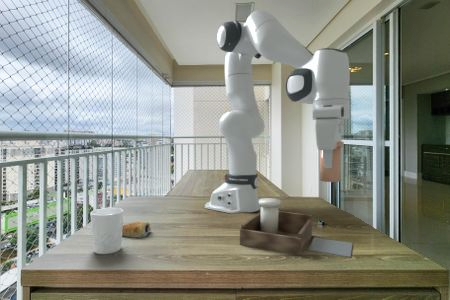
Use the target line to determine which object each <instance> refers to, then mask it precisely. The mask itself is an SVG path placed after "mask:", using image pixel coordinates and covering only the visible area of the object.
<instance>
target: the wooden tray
mask: <svg viewBox="0 0 450 300" xmlns="http://www.w3.org/2000/svg"><path fill="white" fill-rule="evenodd" d="M260 221H261V208H260V209H259V210H258V213H256V214H255V215H253V216H252V217H251V218H249V219H248V220H246V221H245V222H243V223H242V224H240V229H239V245H241V246H247V247H250V248H251V247H252V248H258V249H263V250H267V251H268V250H269V251H273V252H280V253H286V254H291V255H297V256H301V255H302V254H303V252H304V250H305V248H306V247H307V245H308V243H309V241H310V239H311V238H312V236H313V214H308V213H305V214H304V213H299V212H291V211H290V212H289V211H281V210H279V211H278V234H272V233H265V232H260Z"/></svg>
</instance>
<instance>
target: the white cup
mask: <svg viewBox="0 0 450 300" xmlns="http://www.w3.org/2000/svg"><path fill="white" fill-rule="evenodd" d="M123 225H124V209H123V208H120V207H104V208H103V207H102V208H98V209H94V210H92V211H90V226H91V227H90V228H91V238H92V240H91V241H92V245H93V249H92V250H93V253H95V254H97V255H108V254H113V253H116V252H118V251H120V250H121V249H122V244H123V243H122V242H123V240H122V238H123V235H122V230H123Z"/></svg>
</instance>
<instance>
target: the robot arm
mask: <svg viewBox="0 0 450 300" xmlns="http://www.w3.org/2000/svg"><path fill="white" fill-rule="evenodd" d="M216 40H217V41H216V42H217V45H218V47H219V49H220V50H221V51H223V52H225V53H226V55H225V56H224V59H225V61H224V83H225V94H226V98H227V100H228V102H229V104H230V106H231V108H232V110H230V111H228V112H225V113H224V114H223V115H222V116H221V117H220V119H219V123H218V128H219V131H220V132H221V135H223V138H224V140H225V143H226V146H227V151H228V173H227V174H225V175H223V180H224V182H223V183H222V184H221V185H220V186H219V187H217V188H216V189H215V190H213V191H212V193H211V195H210V201H208V202H206V203H205V205H204V209H208V210H212V211H218V212H222V213H227V214H231V213H232V214H237V213H254V212H259V209H261V206H260V205H259V197H258V196H259V195H258V186H259V178H258V177H259V176H258V173H257V172H258V171H257V170H258V169H257V168H258V165H257V164H258V163H257V162H258V161H257V160H258V159H257V157H258V156H257V152H256V151H255V149H254V145H253V141H252V139H256V138H257V137H260V136H261V135H262V133H264V131H265V127H266V126H265V121H264V119H263V118H262V116H261V114H260V110H259V107H258V102H257V99H256V95H255V88H254V87H255V85H254V75H253V69H252V61H253V59H254V58H255V59H258V60H259V59H260V58H261V57H262V58H264V59H266V60H267V61H271V62H275V63H280V64H284V65H287V66H290V67H293V68H294V69H293V70H292V71H291V72H290V73H289V74H288V76H287V78H286V82H285V91H286V92H285V93H286V95H287V98H288V99H289V100H290V101H291V102H295V103H296V104H297V103H299V104H306V105H307V104H309V105H312V110H311V113H312V114H311V116H312V120H314V131H315V143H316V147H317V150H318V151H320V150H323V156H324V167H325V168H332V166H333V161H332V157H333V150H334V149H336V148H337V142H342V126H344V125H345V120H350V95H349V86H350V84H351V83H350V81H351V79H350V76H351V75H350V74H351V73H350V72H351V71H350V62H349V61H350V59H349V55H348V54H347V52H346V51H345V50H343V49H339V48H335V47H333V48H331V47H329V48H328V47H327V48H323V47H322V48H320V49H317V50H316V51H314V53H312V51H310V49H308V48H307V47H305V46H304V45H303V44H302V43H301V42H300V41H298V40H297V39H296V38H295V37H294V35H292V34H291V33H290V32H289V30H287V29H286V28H285V26H284V25H283V24H282V23H281V22H280V21H279V19H277V18H276V17H275V16H273V15H272V13H269V12H268V11H266V10H264V9H257V10H255V11H253V12H252V13H250V14H249V15H248V17H247V19H246V21H245V22H243V21H238V20H231V21H226V22H223V23H222V24H221V25H220V26H219V28H218V31H217V36H216Z"/></svg>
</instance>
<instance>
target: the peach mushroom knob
mask: <svg viewBox="0 0 450 300" xmlns="http://www.w3.org/2000/svg"><path fill="white" fill-rule="evenodd" d="M344 145H345V142H344V141H341V142H337V148H336V149H334V150H333V157H332V161H333V166H332V168H325V167H324V156H323V150H319V181H321V182H325V183H327V182H328V183H338V182H342V147H344Z"/></svg>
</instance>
